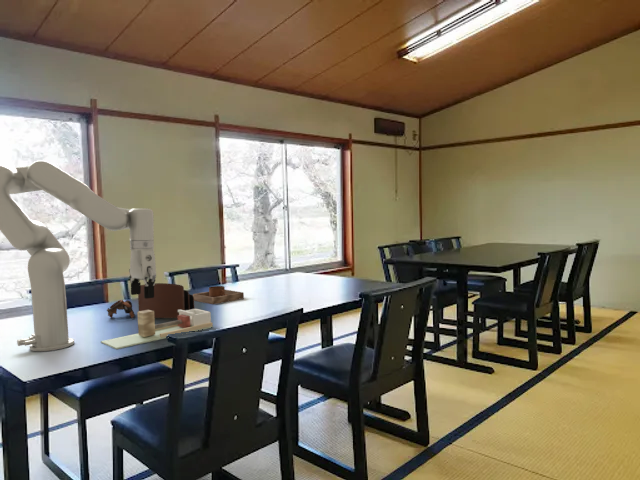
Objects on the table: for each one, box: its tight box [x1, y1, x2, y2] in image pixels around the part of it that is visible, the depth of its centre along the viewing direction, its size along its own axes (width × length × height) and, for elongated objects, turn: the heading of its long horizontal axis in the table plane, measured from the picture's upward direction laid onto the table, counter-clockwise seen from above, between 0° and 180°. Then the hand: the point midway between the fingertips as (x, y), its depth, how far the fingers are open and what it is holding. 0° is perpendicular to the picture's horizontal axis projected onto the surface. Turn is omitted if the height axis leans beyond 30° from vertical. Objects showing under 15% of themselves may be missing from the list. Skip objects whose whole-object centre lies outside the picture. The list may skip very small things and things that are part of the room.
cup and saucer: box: [207, 285, 229, 297], centre depth 230 cm, size 12×12×6 cm
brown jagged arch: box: [106, 299, 136, 319], centre depth 198 cm, size 12×10×8 cm
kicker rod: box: [137, 310, 190, 337], centre depth 168 cm, size 17×5×8 cm, turn 136°
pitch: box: [100, 308, 214, 350], centre depth 167 cm, size 35×12×6 cm, turn 136°
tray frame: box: [192, 289, 245, 305], centre depth 230 cm, size 17×17×3 cm
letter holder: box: [137, 282, 195, 319], centre depth 198 cm, size 10×20×14 cm, turn 80°
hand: (142, 296), depth 163 cm, fingers open, 9 cm apart
